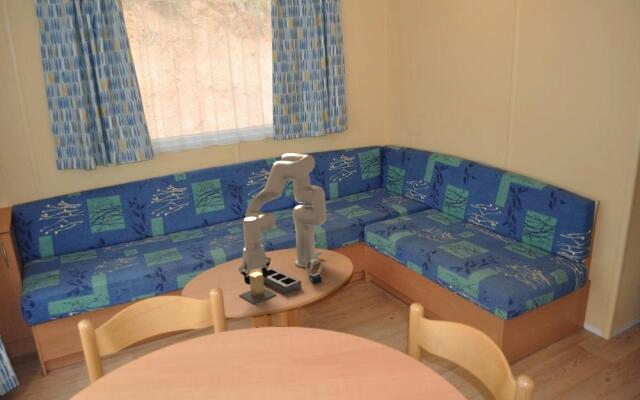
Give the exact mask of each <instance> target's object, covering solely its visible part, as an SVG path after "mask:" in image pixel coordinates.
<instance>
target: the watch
mask: <svg viewBox="0 0 640 400" xmlns="http://www.w3.org/2000/svg"><path fill="white" fill-rule="evenodd" d="M315 261H318V263H320V264H319V266H318V267H319V268H318V269H317V271H316V272H312V273H311V271H312V270H313V267H314V266H313V264H314V262H315ZM323 268H324V266H323V263H322V261H321V260H319V258H317V259H312V260H310V261H308V263H307V265H306V267H305V270H306V272H307V274H308V280H309V281H310V283H311V285H316V284H320V283H322V276H321V273H322V271H323Z"/></svg>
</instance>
